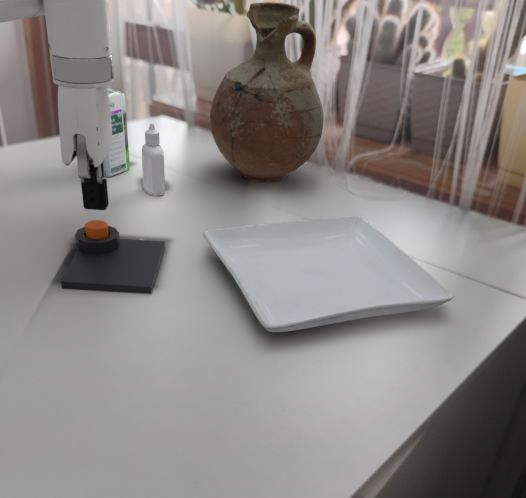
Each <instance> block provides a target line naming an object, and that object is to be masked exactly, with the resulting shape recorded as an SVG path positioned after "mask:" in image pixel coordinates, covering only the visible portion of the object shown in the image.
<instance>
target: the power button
mask: <svg viewBox="0 0 526 498" xmlns="http://www.w3.org/2000/svg"><path fill="white" fill-rule="evenodd" d="M108 226H109V224H108V222H106V221H104V220H99V219H94V220H89V221H87V222H86V223H85V224H84V227H85V230H86V237H87V238H90V239H102V238H106V237H108V236H109V234H108Z"/></svg>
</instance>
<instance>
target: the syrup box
mask: <svg viewBox="0 0 526 498" xmlns="http://www.w3.org/2000/svg"><path fill="white" fill-rule="evenodd" d="M108 92H109V94H108V95H109V103H110V113H111V124H112V147H111V149H110V151H109V153H108V154H107V156H106V157H105V165H106V177H107V178H111V177H113V176H116V175H118V174H121V173H124V172H127V171H130V170H131V166H130V164H131V163H130V149H129V137H128V121H127V107H126V94H125V92H123V91H121V90H118V89H114V88H108Z"/></svg>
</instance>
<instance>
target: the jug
mask: <svg viewBox="0 0 526 498" xmlns="http://www.w3.org/2000/svg"><path fill="white" fill-rule="evenodd" d="M300 10H301V9H300V7H299V6H297V5H294V4H290V3H285V2H271V1H262V2H261V1H260V2H253V3H250V4H249V9H248V11H247V12H246V17H247V18H248V20H249V22H250V24H251V26H252V27H253V29H254V30H255V34H256V41H255V49H254V53H253V55H252V56H251V57H250V58H249V59H247V60H245V61H243V62H241V63H239V64H238V65H237V66H235V67H233V68H232V69H230V70H228V71H227V72H226V73H225V74H224V77H223V79H222V81H221V82H220V84H219V85H218V87H217V89H216V91H215V94H214V97H213V99H212V103H211V107H210V111H209V125H210V131H211V134H212V138H213V141H214V143H215V145H216V147H217V149H218V151H219V152H220V154H221V155H222V157H223V158H224V159H225V160H226V161H227V162H228V163H229V164H230V165H231V166H232V167H234V168H235V169H237V170H239V172H240V174H241V176H243V177H244V178H246V180H249V181H253V182H257V183H276V182H279V181H282V180H285V178H286V177H287V175H288V174H291V173H292V172H294V171H295V170H297V169H299V168H300V167H301V166H303V165H304V164H305V163H307V161H308V160H309V159H310V158H311V156H312V155H313V154H314V152H315V151H316V150H317V148H318V146H319V144H320V141H321V139H322V135H323V129H324V118H325V116H324V107H323V104H322V101H321V97H320V94H319V92H318V89H317V87H316V85H315V82H314V79H313V77H312V73H311V69H312V66H313V61H314V58H315V56H316V55H315V54H316V47H317V35H316V32H315V29H314V27H313V25H312V24H311V23H310V22H308V21H307V20H299V19H300ZM290 34H298V35H300V36H301V37H302V40H303V43H302V44H303V47H302V49H301V54H300V56H299V58H298V59H297V60H296V61H291V60H290V59H289V57H288V55H287V50H286V39H287V36H289V35H290Z"/></svg>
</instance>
